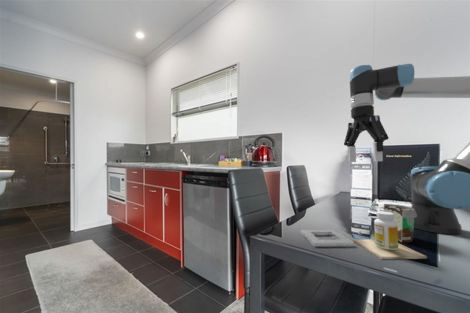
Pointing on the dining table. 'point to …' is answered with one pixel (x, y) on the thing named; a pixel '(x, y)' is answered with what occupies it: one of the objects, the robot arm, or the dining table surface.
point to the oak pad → (400, 253)
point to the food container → (403, 220)
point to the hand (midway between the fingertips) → (364, 161)
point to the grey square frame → (338, 242)
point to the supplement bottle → (386, 231)
